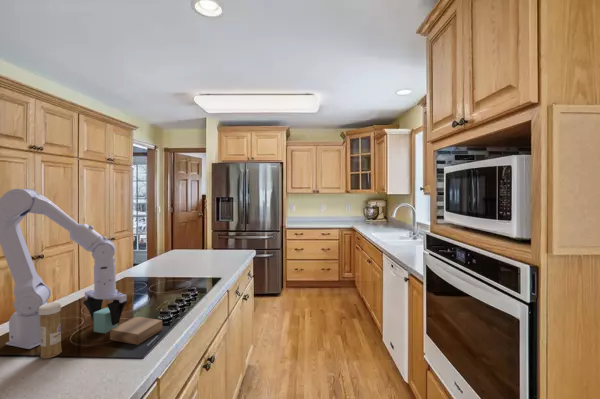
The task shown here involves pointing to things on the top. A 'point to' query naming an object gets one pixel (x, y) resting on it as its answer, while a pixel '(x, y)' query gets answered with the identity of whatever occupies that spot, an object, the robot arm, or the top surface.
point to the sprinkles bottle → (50, 330)
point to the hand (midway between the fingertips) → (106, 322)
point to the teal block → (103, 321)
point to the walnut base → (136, 330)
